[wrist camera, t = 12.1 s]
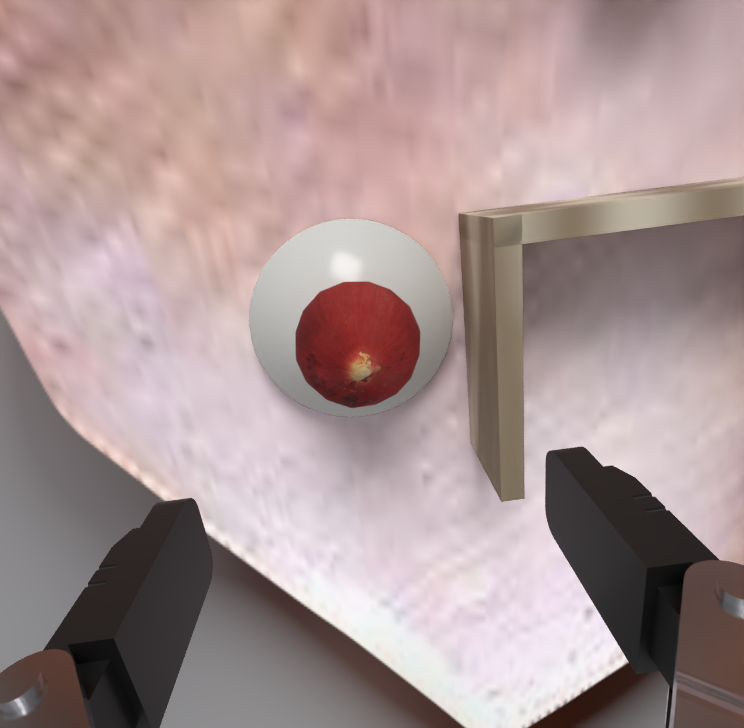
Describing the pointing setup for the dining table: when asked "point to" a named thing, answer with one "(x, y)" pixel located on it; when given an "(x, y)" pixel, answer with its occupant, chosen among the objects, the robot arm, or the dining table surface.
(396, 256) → the white flat disc
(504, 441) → the wooden plank arch
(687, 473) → the dining table surface
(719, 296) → the dining table surface
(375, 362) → the onion
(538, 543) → the dining table surface
